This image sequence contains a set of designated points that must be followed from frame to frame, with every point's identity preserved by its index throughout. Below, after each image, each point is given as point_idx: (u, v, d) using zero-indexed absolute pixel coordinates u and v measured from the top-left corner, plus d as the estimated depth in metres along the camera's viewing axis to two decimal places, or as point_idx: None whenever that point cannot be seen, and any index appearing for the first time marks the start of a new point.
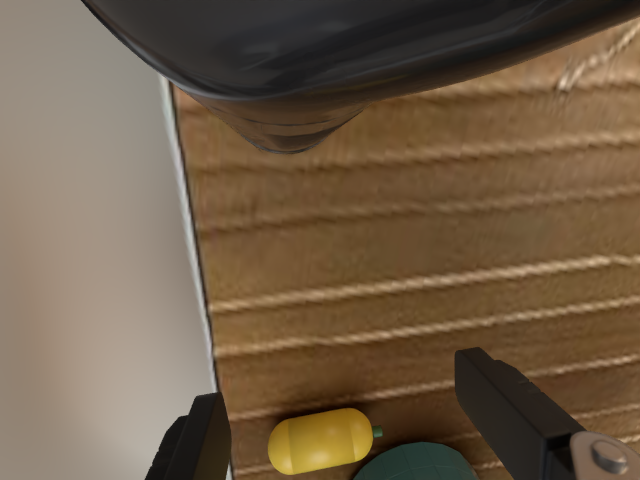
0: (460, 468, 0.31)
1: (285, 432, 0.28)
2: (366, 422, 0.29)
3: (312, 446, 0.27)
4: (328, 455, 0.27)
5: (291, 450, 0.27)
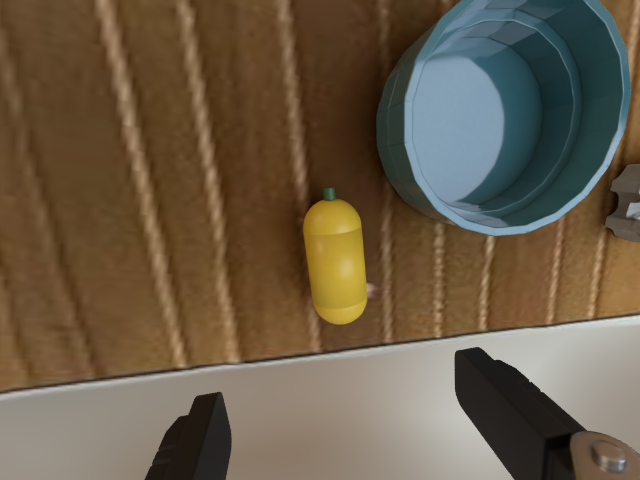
0: (404, 61, 0.20)
1: (314, 305, 0.24)
2: (311, 209, 0.22)
3: (323, 283, 0.22)
4: (333, 266, 0.22)
5: (326, 306, 0.23)
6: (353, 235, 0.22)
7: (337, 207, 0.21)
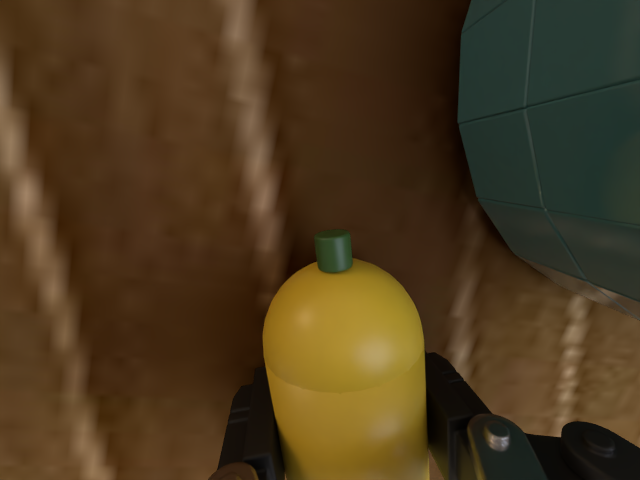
0: None
1: None
2: (283, 295, 0.08)
3: None
4: (347, 477, 0.07)
5: None
6: (408, 384, 0.07)
7: (359, 299, 0.07)
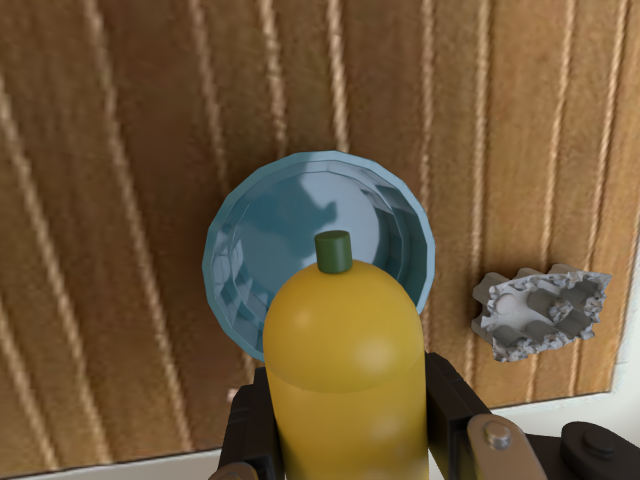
0: None
1: None
2: (283, 295, 0.08)
3: None
4: (347, 477, 0.07)
5: None
6: (408, 384, 0.07)
7: (359, 300, 0.07)
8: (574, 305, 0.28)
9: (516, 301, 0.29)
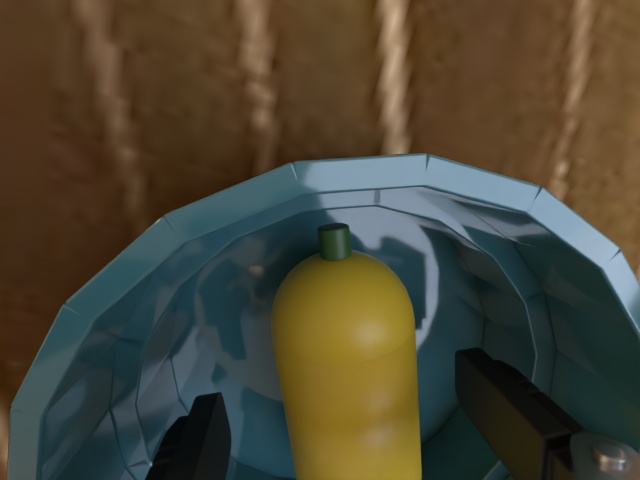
0: None
1: None
2: (290, 282, 0.09)
3: (321, 471, 0.09)
4: (349, 440, 0.08)
5: None
6: (401, 357, 0.08)
7: (358, 283, 0.08)
8: None
9: None
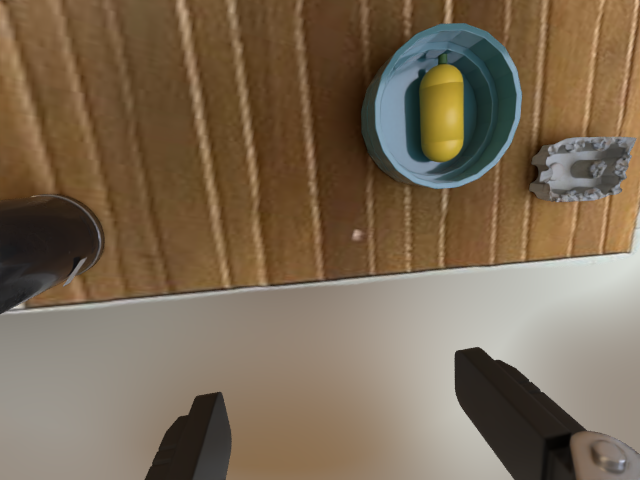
0: (377, 76, 0.31)
1: (431, 145, 0.33)
2: (433, 69, 0.31)
3: (445, 120, 0.32)
4: (454, 106, 0.31)
5: (445, 139, 0.32)
6: (463, 86, 0.32)
7: (453, 66, 0.31)
8: (606, 170, 0.38)
9: (563, 169, 0.39)
